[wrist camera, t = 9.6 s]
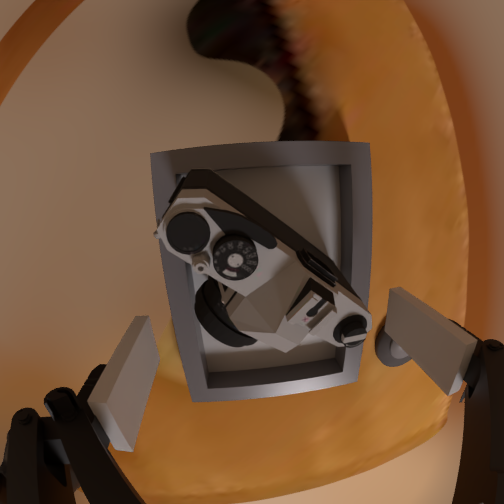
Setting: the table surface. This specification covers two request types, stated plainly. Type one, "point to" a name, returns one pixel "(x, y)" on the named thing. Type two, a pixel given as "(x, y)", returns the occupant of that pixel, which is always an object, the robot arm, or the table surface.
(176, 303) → the case tray
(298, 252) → the camera
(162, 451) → the table surface
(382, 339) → the lens cap
